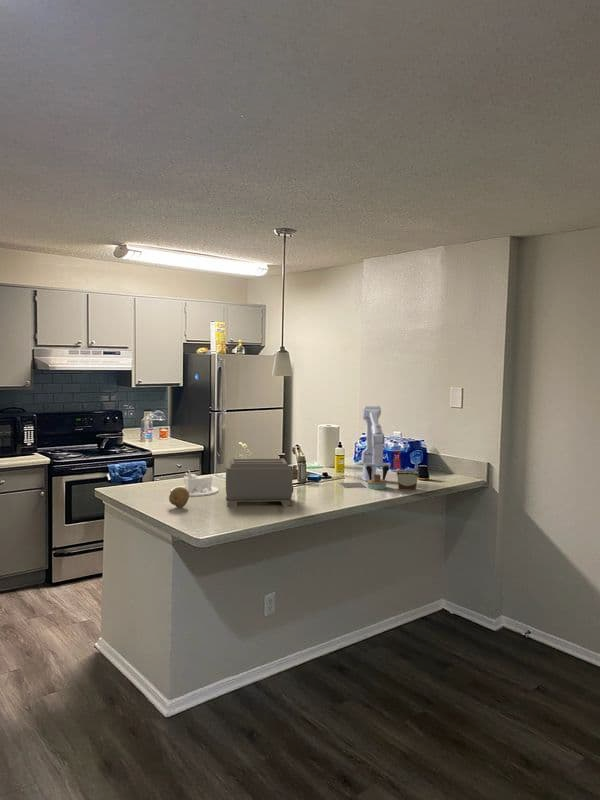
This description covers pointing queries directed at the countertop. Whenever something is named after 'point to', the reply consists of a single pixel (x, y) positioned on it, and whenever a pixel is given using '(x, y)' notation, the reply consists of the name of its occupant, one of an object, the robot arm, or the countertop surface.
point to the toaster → (258, 481)
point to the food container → (407, 479)
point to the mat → (352, 484)
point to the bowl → (377, 486)
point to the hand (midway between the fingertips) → (377, 479)
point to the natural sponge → (179, 497)
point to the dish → (198, 485)
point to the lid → (377, 480)
